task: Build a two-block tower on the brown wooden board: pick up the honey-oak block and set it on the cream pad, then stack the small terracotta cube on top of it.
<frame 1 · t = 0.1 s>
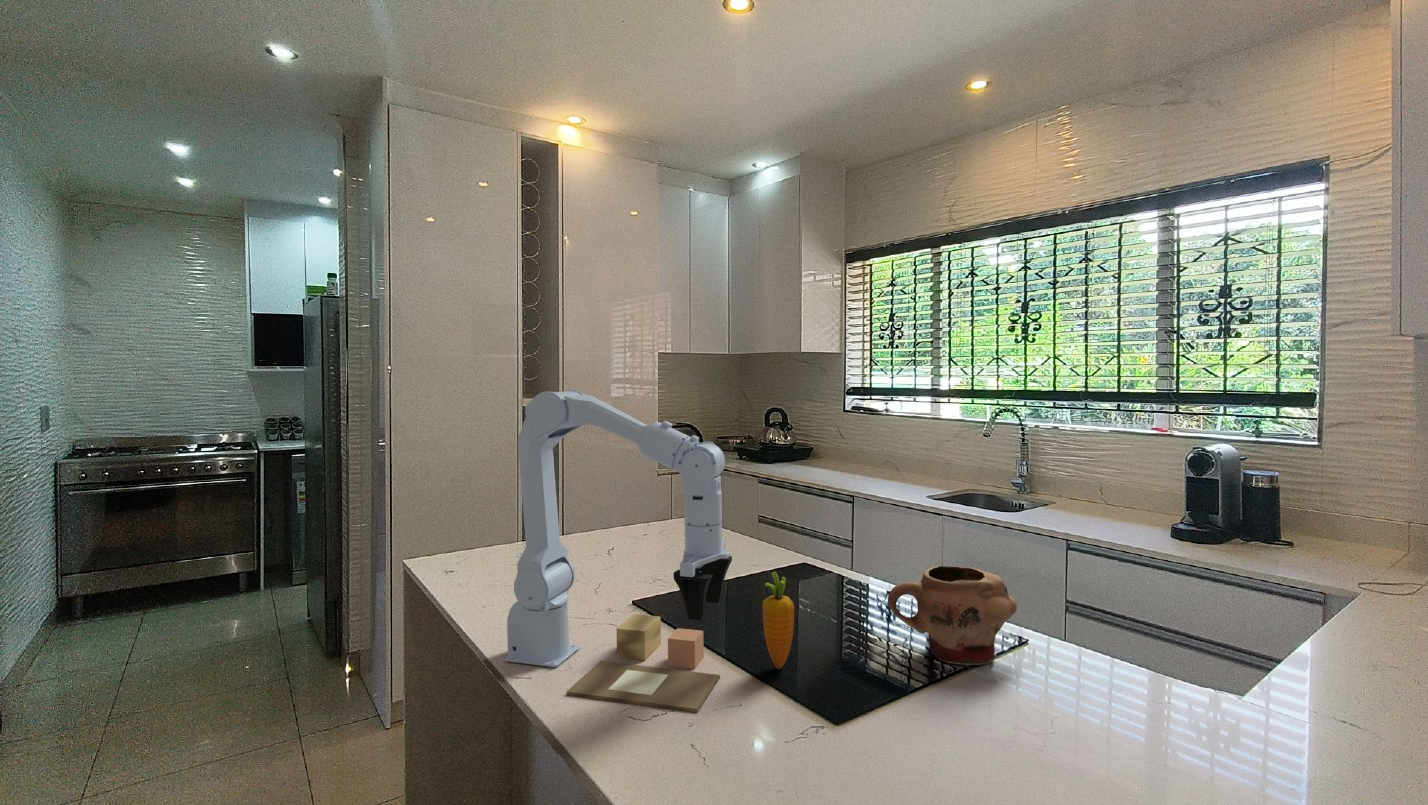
hand: (704, 610, 105), 10 cm above the counter, fingers open, 7 cm apart
terracotta cube: (686, 662, 110), on the counter
oak block: (639, 651, 115), on the counter
brown clay mug: (951, 657, 111), on the counter
carrot: (778, 670, 107), on the counter
brown wooden board: (645, 686, 102), on the counter
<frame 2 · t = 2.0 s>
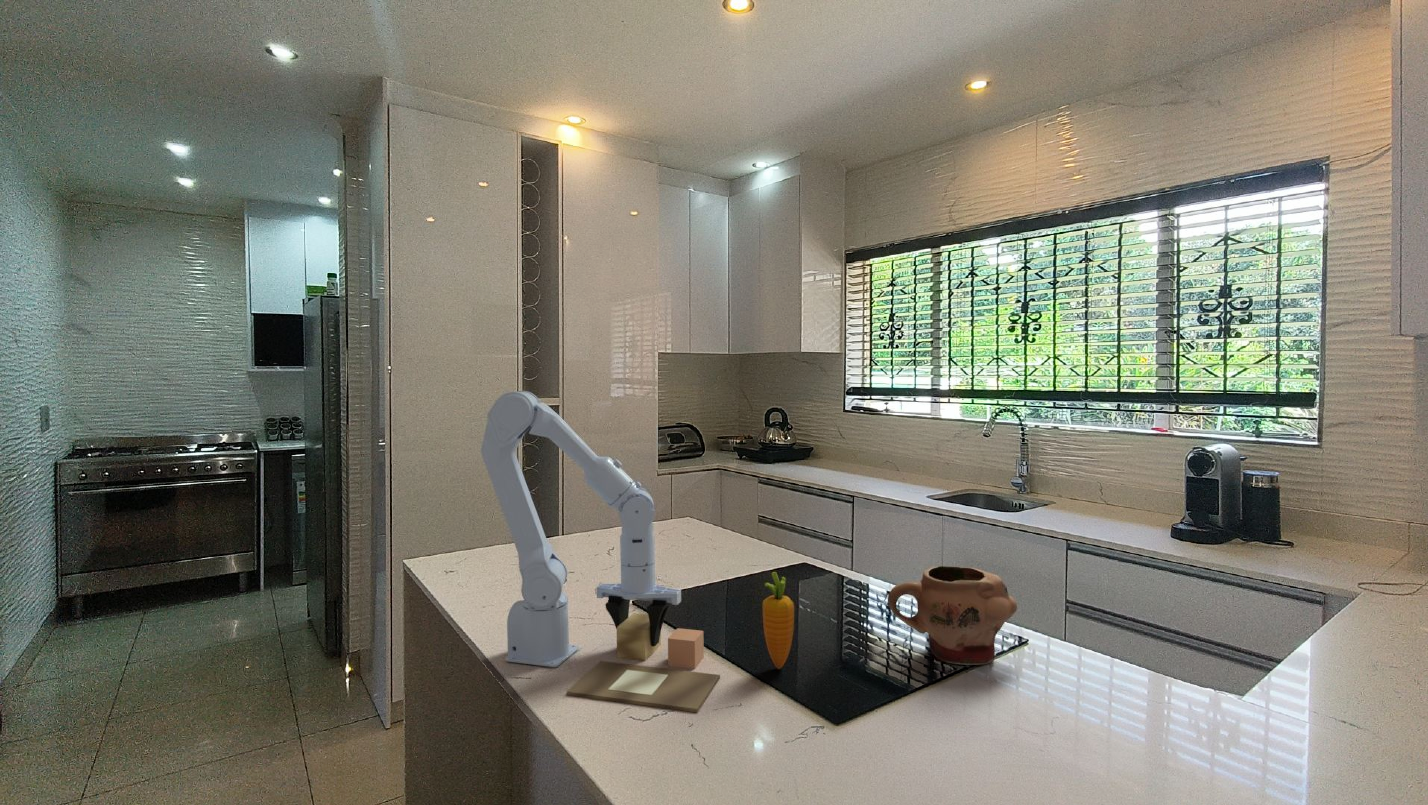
hand: (639, 642, 115), 1 cm above the counter, fingers closed on oak block, 5 cm apart
oak block: (639, 650, 115), on the counter, touching gripper
everything else where it was.
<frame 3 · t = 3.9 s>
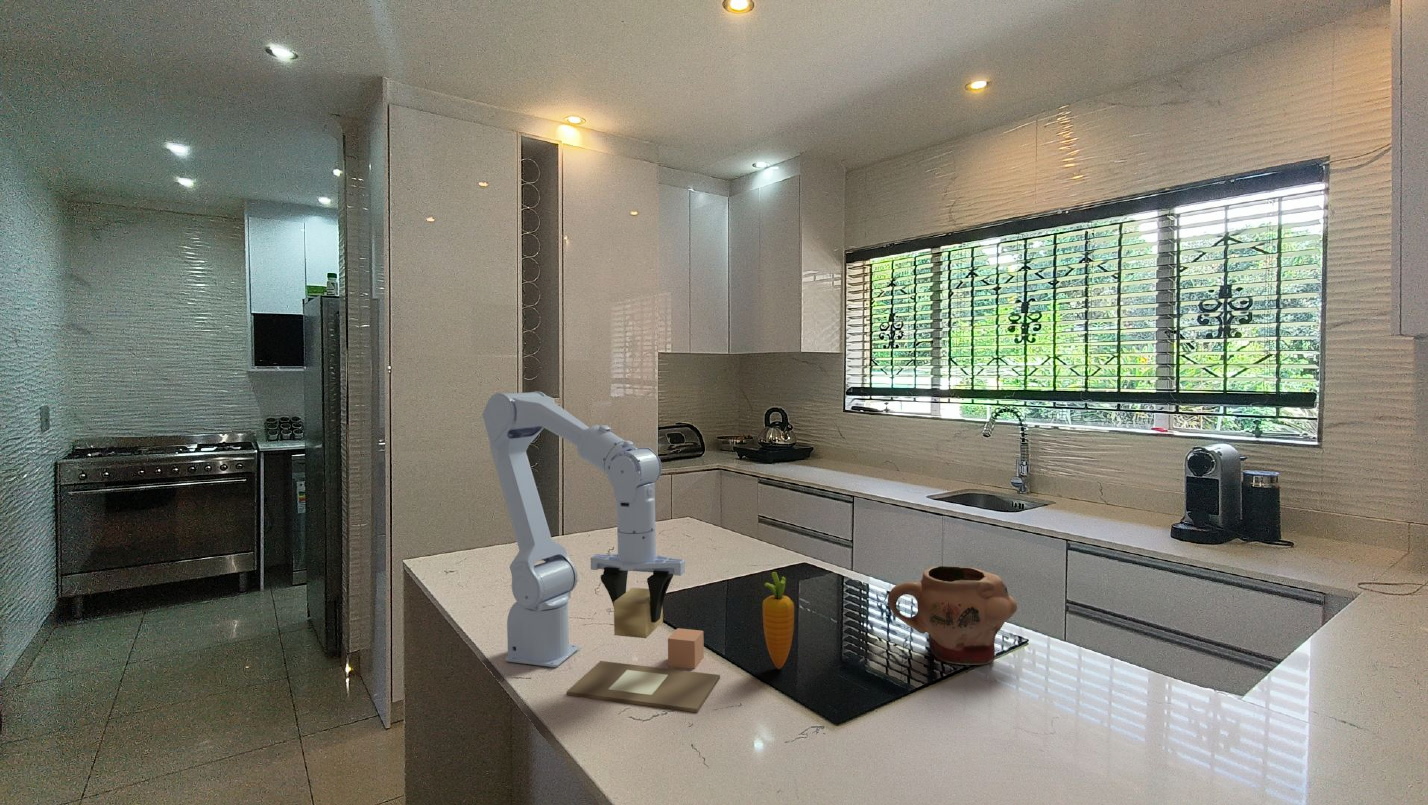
hand: (638, 618, 103), 9 cm above the counter, fingers closed on oak block, 5 cm apart
oak block: (639, 628, 104), point 8 cm above the counter, touching gripper
everything else where it was.
when the fingers open (3 cm above the counter, at t = 5.8 s): oak block stays where it is, resting on brown wooden board.
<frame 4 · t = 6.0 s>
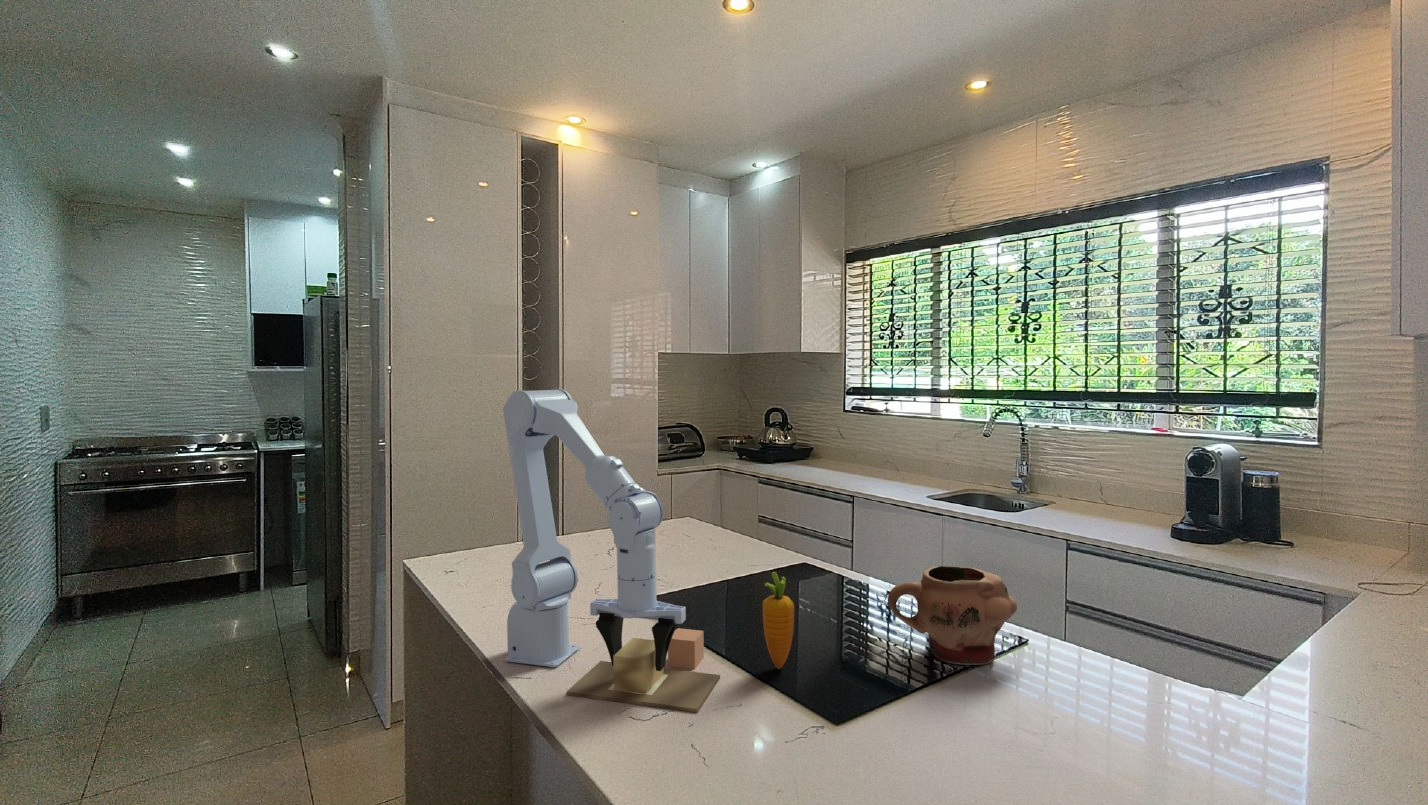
hand: (638, 665, 102), 3 cm above the counter, fingers open, 6 cm apart
oak block: (639, 681, 102), point 1 cm above the counter, touching brown wooden board
everything else where it was.
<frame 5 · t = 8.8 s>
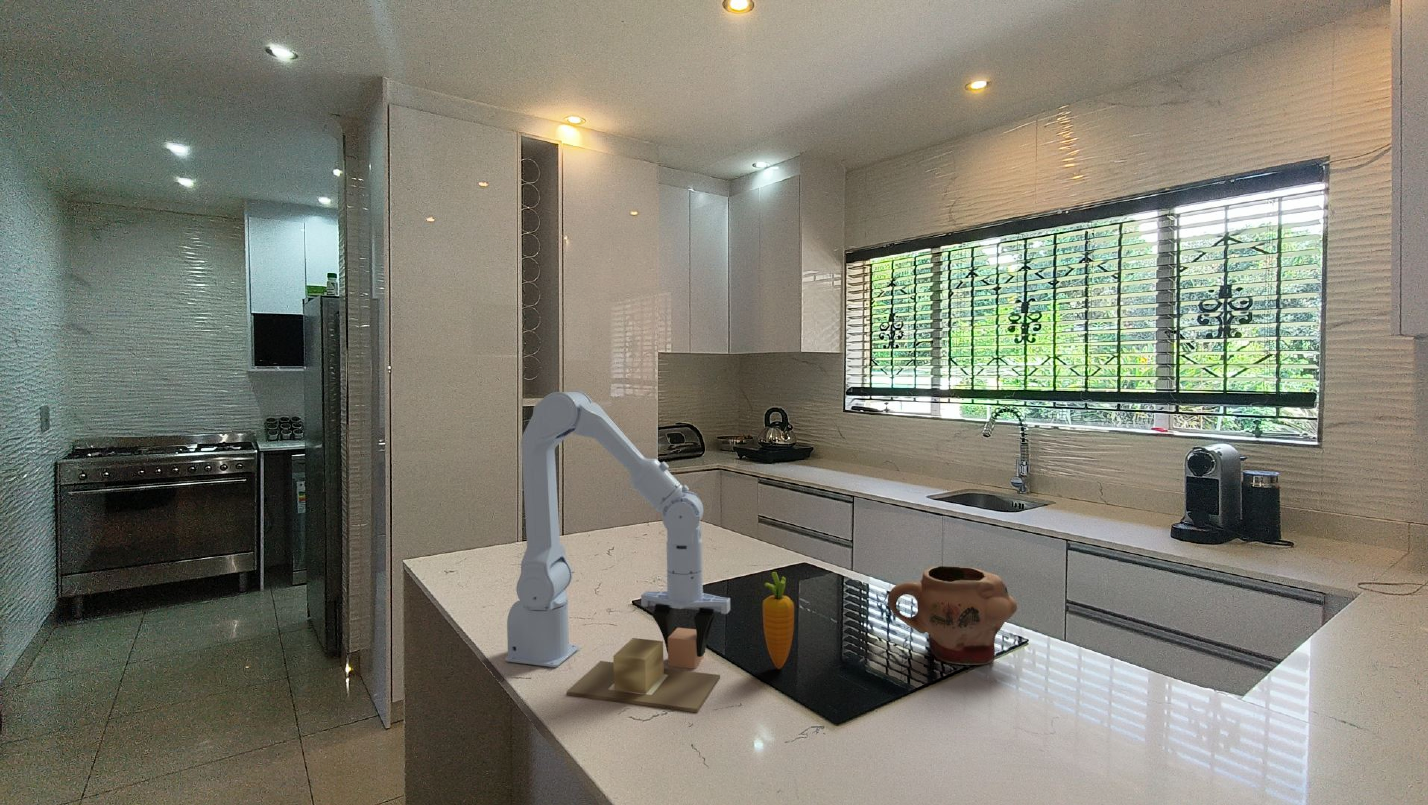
hand: (686, 652, 110), 1 cm above the counter, fingers closed on terracotta cube, 4 cm apart
terracotta cube: (686, 661, 110), on the counter, touching gripper
everything else where it was.
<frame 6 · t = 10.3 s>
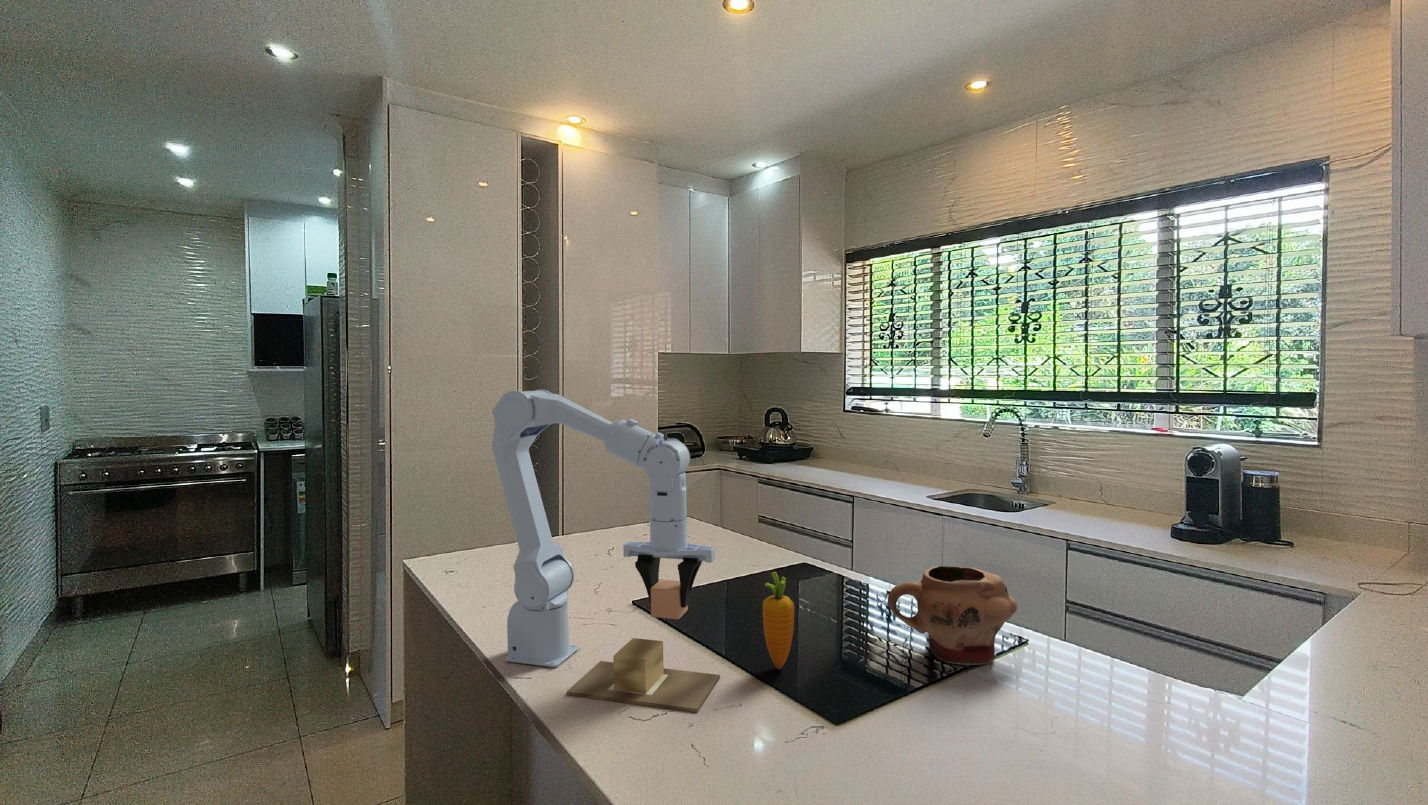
hand: (669, 604, 107), 10 cm above the counter, fingers closed on terracotta cube, 4 cm apart
terracotta cube: (669, 613, 107), point 9 cm above the counter, touching gripper
everything else where it was.
when the fingers open (8 cm above the counter, at t = 11.7 s): terracotta cube drops 1 cm, resting on oak block.
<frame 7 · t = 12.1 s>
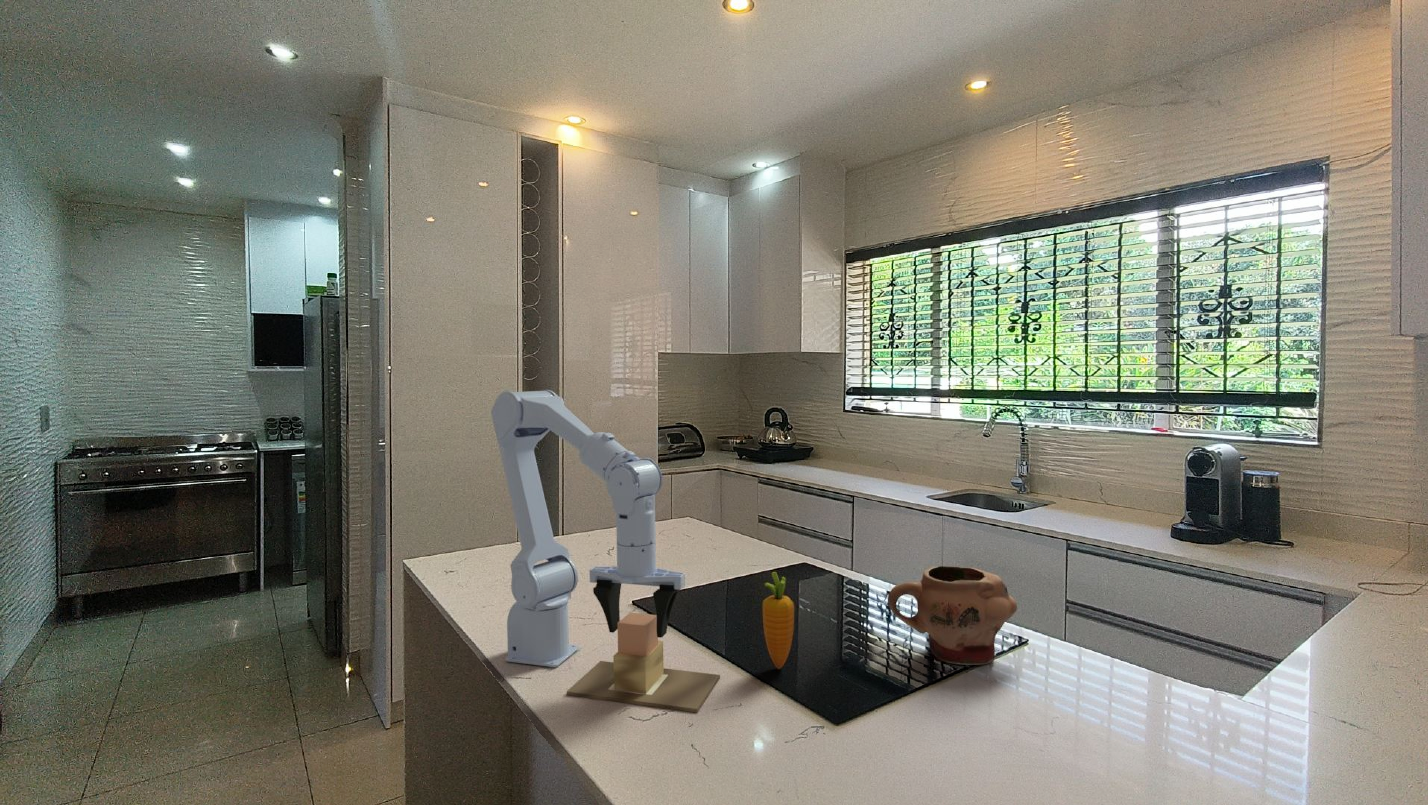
hand: (637, 632, 102), 8 cm above the counter, fingers open, 7 cm apart
terracotta cube: (638, 648, 102), point 6 cm above the counter, touching oak block
oak block: (639, 681, 102), point 1 cm above the counter, touching brown wooden board, terracotta cube
everything else where it was.
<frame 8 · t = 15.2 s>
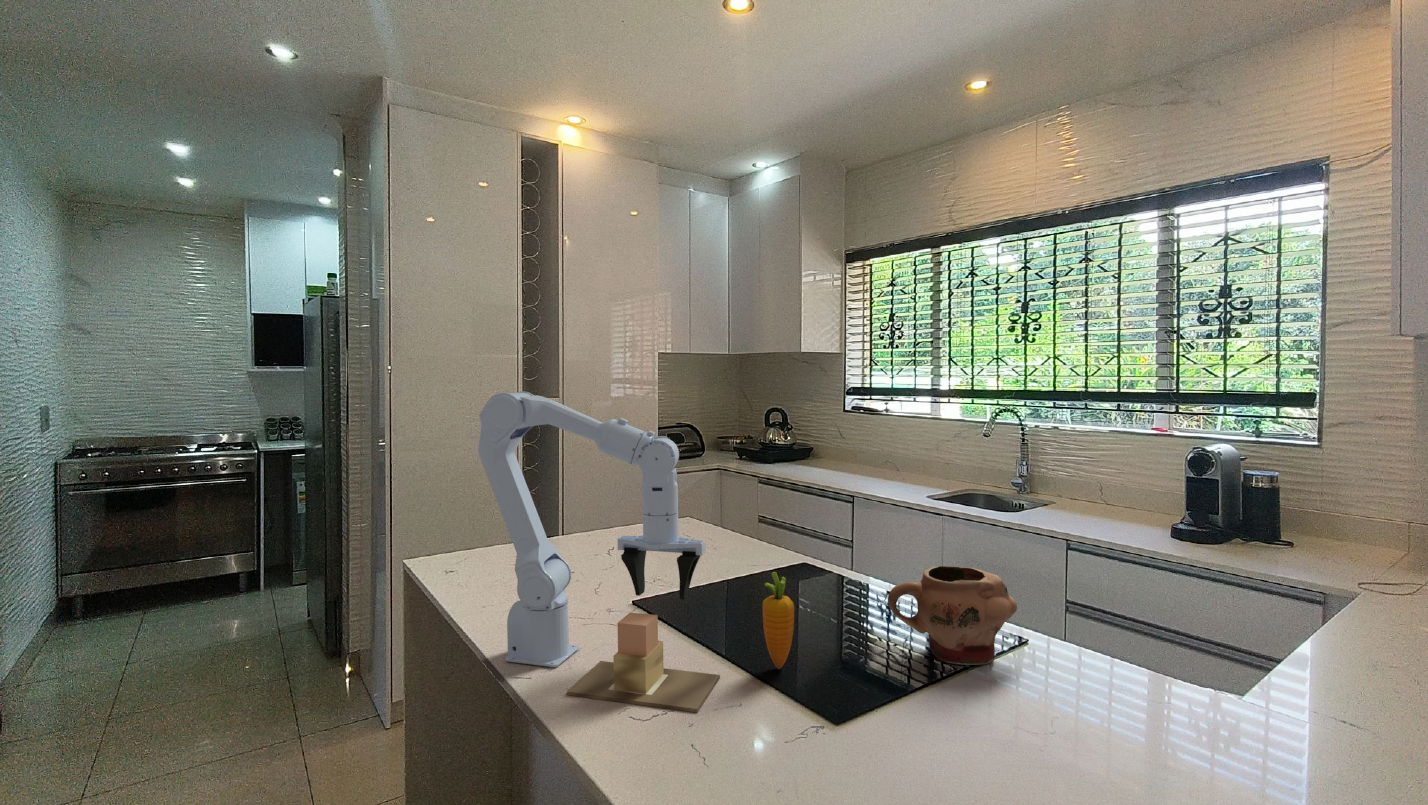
hand: (661, 595, 111), 10 cm above the counter, fingers open, 7 cm apart
nothing on the counter moved.
at the end: oak block 0.2 cm from the target spot, point 0.5 cm above the counter; terracotta cube 0.2 cm off-centre on the oak block, point 5.0 cm above the oak block's base; terracotta cube tilted 0° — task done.
